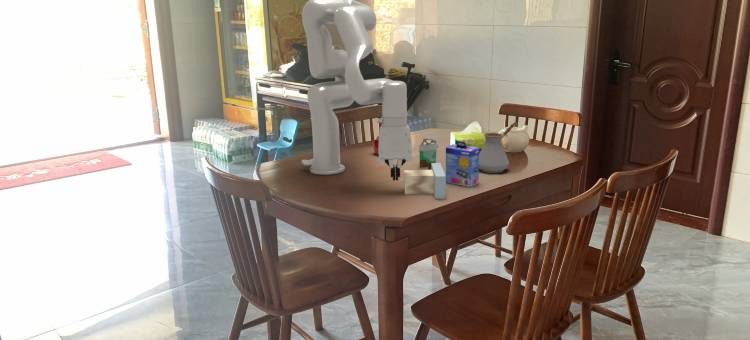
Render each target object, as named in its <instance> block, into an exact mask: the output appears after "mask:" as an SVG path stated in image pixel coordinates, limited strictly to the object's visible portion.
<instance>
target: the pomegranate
mask: <svg viewBox="0 0 750 340" xmlns="http://www.w3.org/2000/svg"><path fill="white" fill-rule="evenodd" d="M372 148H373V152H374V153H375V154H376V155H378V156H379V135H377V136H376V137H375V139H374V141H373V142H372Z"/></svg>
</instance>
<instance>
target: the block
mask: <svg viewBox="0 0 750 340" xmlns="http://www.w3.org/2000/svg"><path fill="white" fill-rule="evenodd" d="M403 181H404V182H403V186H404V187H403V188H404V195H428V194H429V195H434V174H433V171H432V170H420V169H409V170H407V169H406V170H405V169H404V170H403Z"/></svg>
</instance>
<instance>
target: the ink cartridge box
mask: <svg viewBox="0 0 750 340" xmlns="http://www.w3.org/2000/svg"><path fill="white" fill-rule="evenodd" d="M479 154H480V148H479V147H476V146H469V145H467V144H466V141H462V140H455V144H451V145H448V146H446V147H445V176H446V183H447V184H452V185H458V186H462V187H468V188H472V187H474V186H476V185H478V184H480V179H479V178H480V168H479Z"/></svg>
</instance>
